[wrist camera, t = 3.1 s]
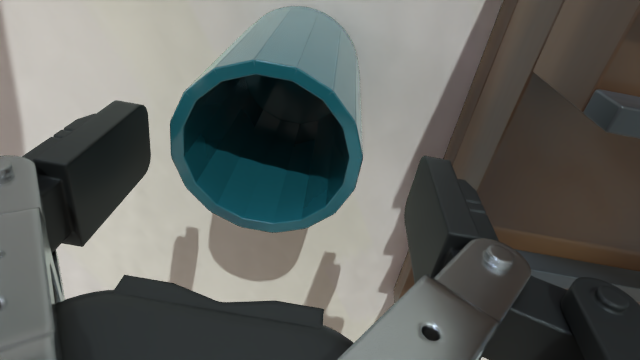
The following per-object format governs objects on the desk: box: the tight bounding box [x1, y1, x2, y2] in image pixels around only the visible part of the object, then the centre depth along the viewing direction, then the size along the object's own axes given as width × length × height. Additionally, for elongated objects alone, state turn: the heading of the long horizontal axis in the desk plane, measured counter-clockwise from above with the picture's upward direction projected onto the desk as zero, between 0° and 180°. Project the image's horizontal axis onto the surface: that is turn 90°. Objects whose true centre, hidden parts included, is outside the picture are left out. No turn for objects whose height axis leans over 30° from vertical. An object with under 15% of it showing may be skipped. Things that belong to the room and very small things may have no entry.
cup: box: [170, 6, 363, 233], centre depth 16 cm, size 6×6×8 cm
